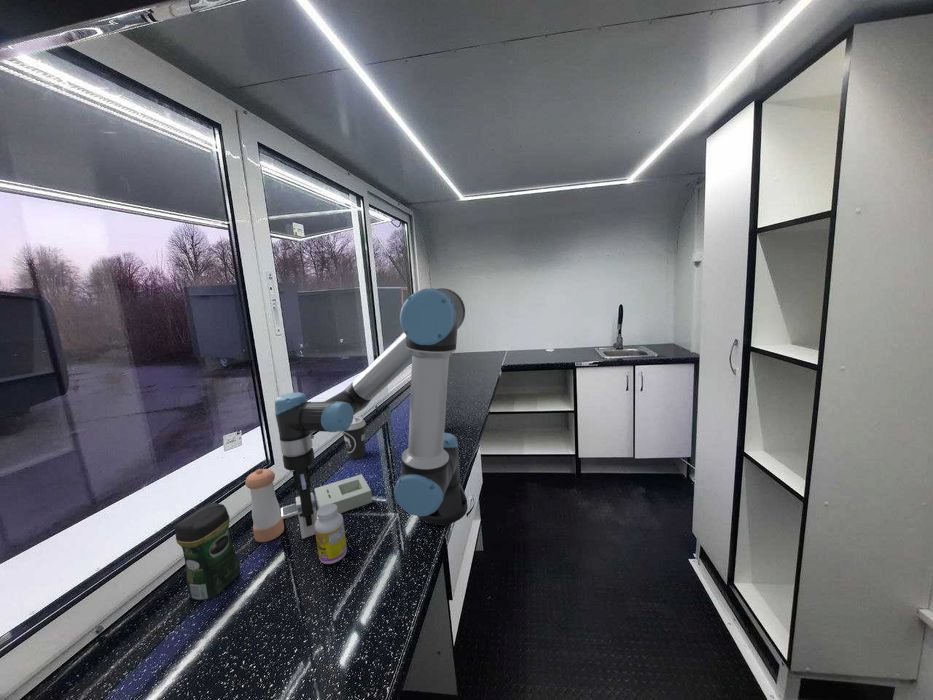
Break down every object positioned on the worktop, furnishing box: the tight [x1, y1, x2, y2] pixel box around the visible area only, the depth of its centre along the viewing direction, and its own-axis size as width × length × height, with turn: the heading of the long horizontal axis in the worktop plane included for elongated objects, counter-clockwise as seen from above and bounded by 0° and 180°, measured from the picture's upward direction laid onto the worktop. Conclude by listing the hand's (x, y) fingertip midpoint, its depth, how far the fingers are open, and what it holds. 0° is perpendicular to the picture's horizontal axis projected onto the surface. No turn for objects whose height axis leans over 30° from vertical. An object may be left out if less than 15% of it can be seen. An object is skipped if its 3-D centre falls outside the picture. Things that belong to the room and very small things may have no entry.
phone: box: [280, 503, 298, 520], centre depth 108 cm, size 5×9×1 cm, turn 120°
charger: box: [295, 491, 318, 540], centre depth 97 cm, size 4×4×10 cm
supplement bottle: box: [315, 504, 348, 565], centre depth 87 cm, size 7×7×13 cm
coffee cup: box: [342, 416, 367, 460], centre depth 141 cm, size 10×10×15 cm
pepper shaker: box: [245, 468, 285, 543], centre depth 96 cm, size 7×7×19 cm
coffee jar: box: [174, 502, 241, 601], centre depth 79 cm, size 10×8×19 cm
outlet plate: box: [314, 473, 373, 514], centre depth 111 cm, size 15×12×4 cm
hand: (309, 528), depth 98 cm, fingers closed on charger, 4 cm apart
